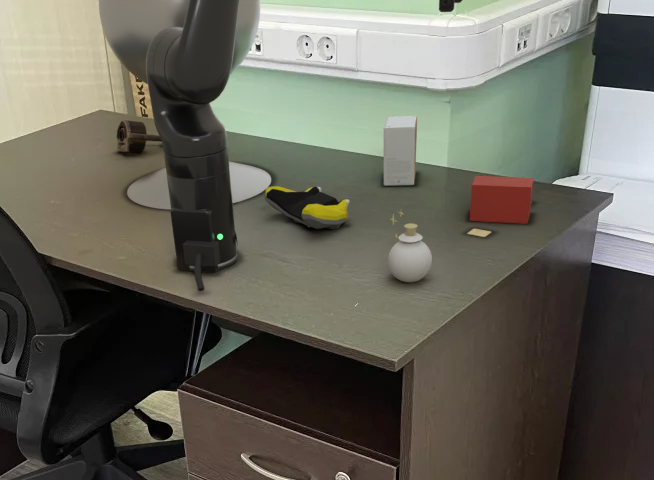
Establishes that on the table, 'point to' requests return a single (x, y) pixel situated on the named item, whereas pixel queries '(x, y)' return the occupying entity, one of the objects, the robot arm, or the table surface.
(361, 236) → the table surface
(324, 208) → the black yellow shoe-shaped piece
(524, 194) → the block
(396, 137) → the small box
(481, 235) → the edge tape marks
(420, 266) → the white potion bottle
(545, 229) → the table surface
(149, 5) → the desk lamp
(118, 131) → the mechanical counter
